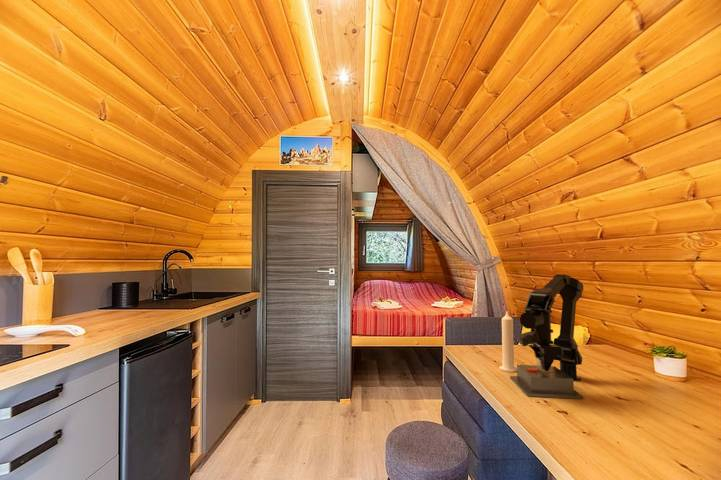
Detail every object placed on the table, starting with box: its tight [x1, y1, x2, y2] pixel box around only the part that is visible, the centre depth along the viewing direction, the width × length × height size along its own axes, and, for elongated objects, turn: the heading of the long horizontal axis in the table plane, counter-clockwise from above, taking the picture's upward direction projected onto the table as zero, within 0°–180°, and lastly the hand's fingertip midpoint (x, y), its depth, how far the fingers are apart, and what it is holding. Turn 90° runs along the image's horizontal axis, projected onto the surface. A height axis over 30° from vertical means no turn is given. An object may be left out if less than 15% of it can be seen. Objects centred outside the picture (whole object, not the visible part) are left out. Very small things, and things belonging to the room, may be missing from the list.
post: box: [536, 358, 550, 373], centre depth 123 cm, size 3×3×9 cm
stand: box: [509, 364, 584, 400], centre depth 123 cm, size 18×18×7 cm
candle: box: [499, 310, 517, 373], centre depth 145 cm, size 7×7×25 cm
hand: (543, 368), depth 123 cm, fingers open, 5 cm apart
